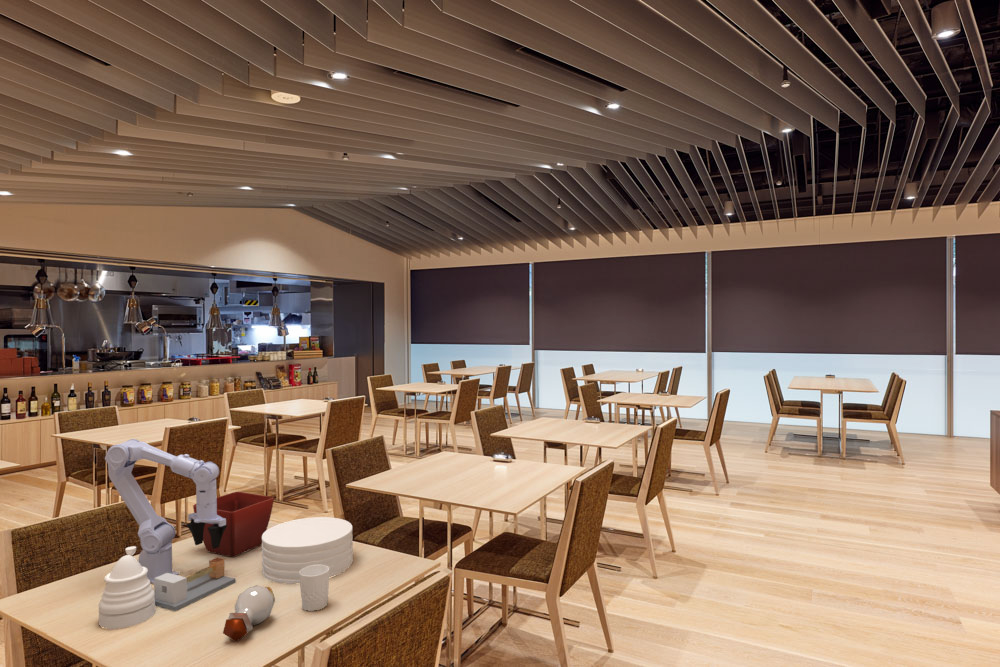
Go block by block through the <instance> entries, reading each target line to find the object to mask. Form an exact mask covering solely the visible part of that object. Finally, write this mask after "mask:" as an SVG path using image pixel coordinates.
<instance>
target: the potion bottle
mask: <svg viewBox="0 0 1000 667" xmlns="http://www.w3.org/2000/svg"><path fill="white" fill-rule="evenodd" d="M265 587H266V586H265ZM265 587H264V586H262V585H258V584H257V585H254V586H250V587H247V588H246V589H244V591H242V592H241V593H240V594H239V595H238V596H237V600H236V601H235V603H234V604H235V605H234V612H229V616H228V619H225V623H224V627H223V631H222V634H224V635H225V636H227V637H228V638H229V639H230V640H232V641H234V642H235V641H237V642H238V641H240V640H241V639H243V637H245V636H247V635H248V633H249V632H250V631H252V630H253V629H254V628H253V626H255V625H258V624H261V623H262V622H264V621H265V620H266V619H267V618H269V617H270V616H271V614H272V610H273V608H274V604H275V603H274V602H275V601H274V602H273V595H272V594H271V593H270V591H269V590H268V589H267V588H265Z"/></svg>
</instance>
